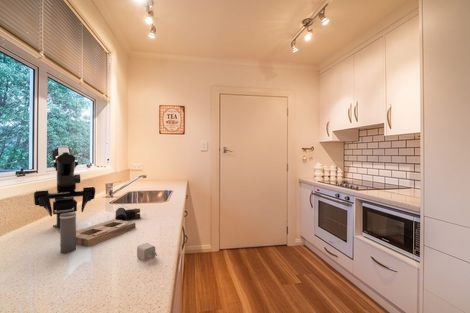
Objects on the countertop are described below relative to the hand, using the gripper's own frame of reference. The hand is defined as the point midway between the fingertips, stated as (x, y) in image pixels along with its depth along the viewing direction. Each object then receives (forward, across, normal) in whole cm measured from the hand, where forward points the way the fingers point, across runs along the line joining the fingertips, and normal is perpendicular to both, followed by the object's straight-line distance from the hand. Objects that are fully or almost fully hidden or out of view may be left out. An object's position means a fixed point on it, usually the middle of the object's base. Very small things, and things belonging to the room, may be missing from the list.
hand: (67, 213), depth 83 cm
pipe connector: (-7, +26, +25) cm, 37 cm away
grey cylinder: (+12, 0, +5) cm, 13 cm away
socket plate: (+4, +12, +12) cm, 18 cm away
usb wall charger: (+30, +20, -12) cm, 38 cm away
